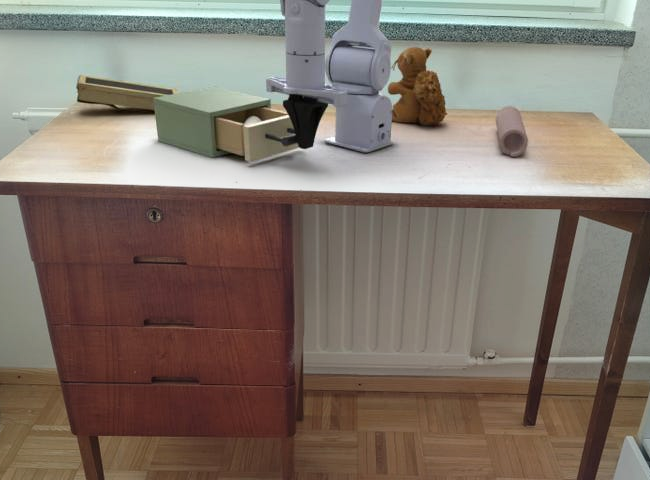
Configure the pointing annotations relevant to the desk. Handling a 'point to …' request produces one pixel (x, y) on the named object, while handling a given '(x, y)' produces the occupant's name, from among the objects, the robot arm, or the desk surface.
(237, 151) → the drawer
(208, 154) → the box
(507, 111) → the grey hollow tube piece
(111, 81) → the box
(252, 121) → the glue stick
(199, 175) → the desk surface
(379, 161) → the desk surface
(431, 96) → the stuffed squirrel
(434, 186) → the desk surface
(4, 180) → the desk surface
